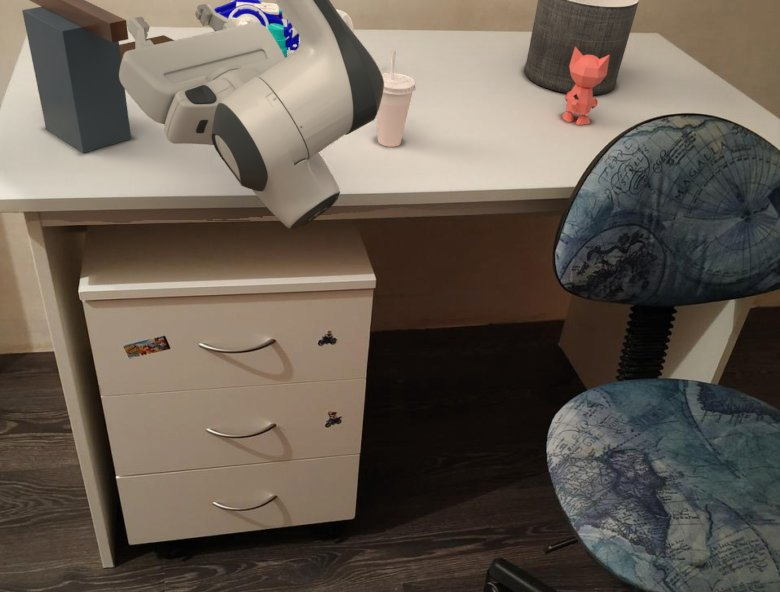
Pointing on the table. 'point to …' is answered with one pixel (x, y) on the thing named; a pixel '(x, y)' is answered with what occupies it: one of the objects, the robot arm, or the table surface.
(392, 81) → the smoothie
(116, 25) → the brown wooden bar
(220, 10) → the robot toy
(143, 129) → the table surface
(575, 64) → the cat figurine
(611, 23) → the planter
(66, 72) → the stand
